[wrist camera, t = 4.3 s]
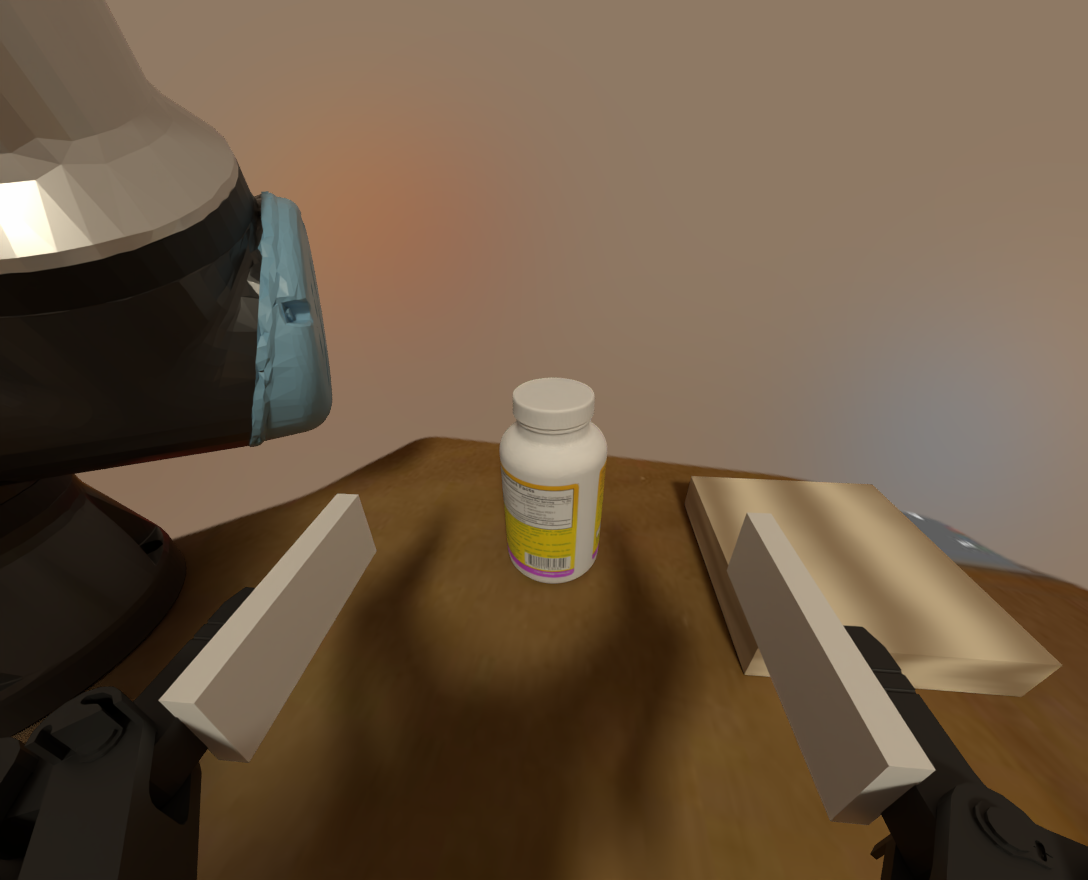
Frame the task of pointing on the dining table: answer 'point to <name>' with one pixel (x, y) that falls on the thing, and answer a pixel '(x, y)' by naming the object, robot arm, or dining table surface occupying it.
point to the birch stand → (871, 583)
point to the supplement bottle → (553, 480)
